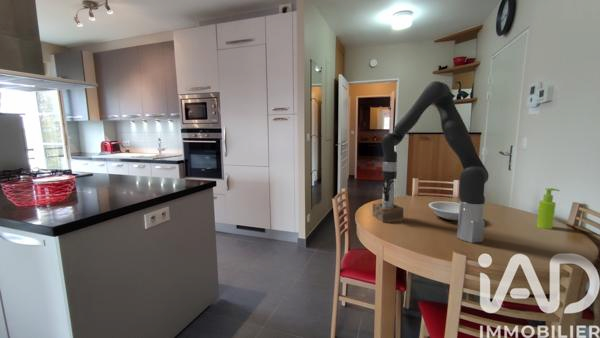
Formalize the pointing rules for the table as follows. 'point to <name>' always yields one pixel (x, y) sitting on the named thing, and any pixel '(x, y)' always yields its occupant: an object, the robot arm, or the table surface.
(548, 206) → the soap dispenser
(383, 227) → the table surface
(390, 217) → the square wooden frame
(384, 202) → the energy drink can
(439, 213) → the white vessel sink
